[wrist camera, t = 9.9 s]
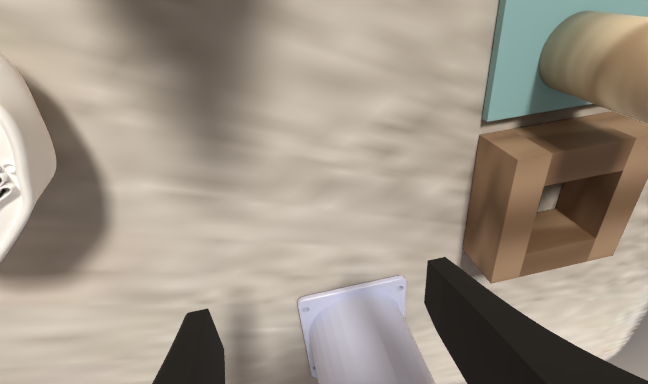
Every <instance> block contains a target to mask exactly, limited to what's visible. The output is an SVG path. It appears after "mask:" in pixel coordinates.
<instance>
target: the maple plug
mask: <svg viewBox="0 0 648 384" xmlns="http://www.w3.org/2000/svg"><path fill="white" fill-rule="evenodd" d="M539 74H540V77H541V80H542V81H543V83H544V84H545V85H546V86H548V87H550V88H552V89H555V90H557V91H560V92H563V93H566V94H568V95H571V96H574V97H577V98H579V99H582V100H585V101H587V102H590V103H593V104H596V105H598V106H601V107H604V108H607V109H609V110H612V111H615V112H618V113H620V114H623V115H626V116H628V117H631V118H634V119H637V120H639V121H642V122H645V123H648V17H644V16H634V15H625V14H615V13H606V12H596V11H582V12H578V13H575V14H573V15H571V16H569V17H568V18H566V19H565V20H564V21H562V22H561V23H560V24H559V25H558V26H557V27H556V28H555V29H554V30H553V32H552V33H551V34H550V36H549V37H548V39H547V40H546V42H545V44H544V46H543V49H542V51H541V54H540V59H539Z"/></svg>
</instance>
